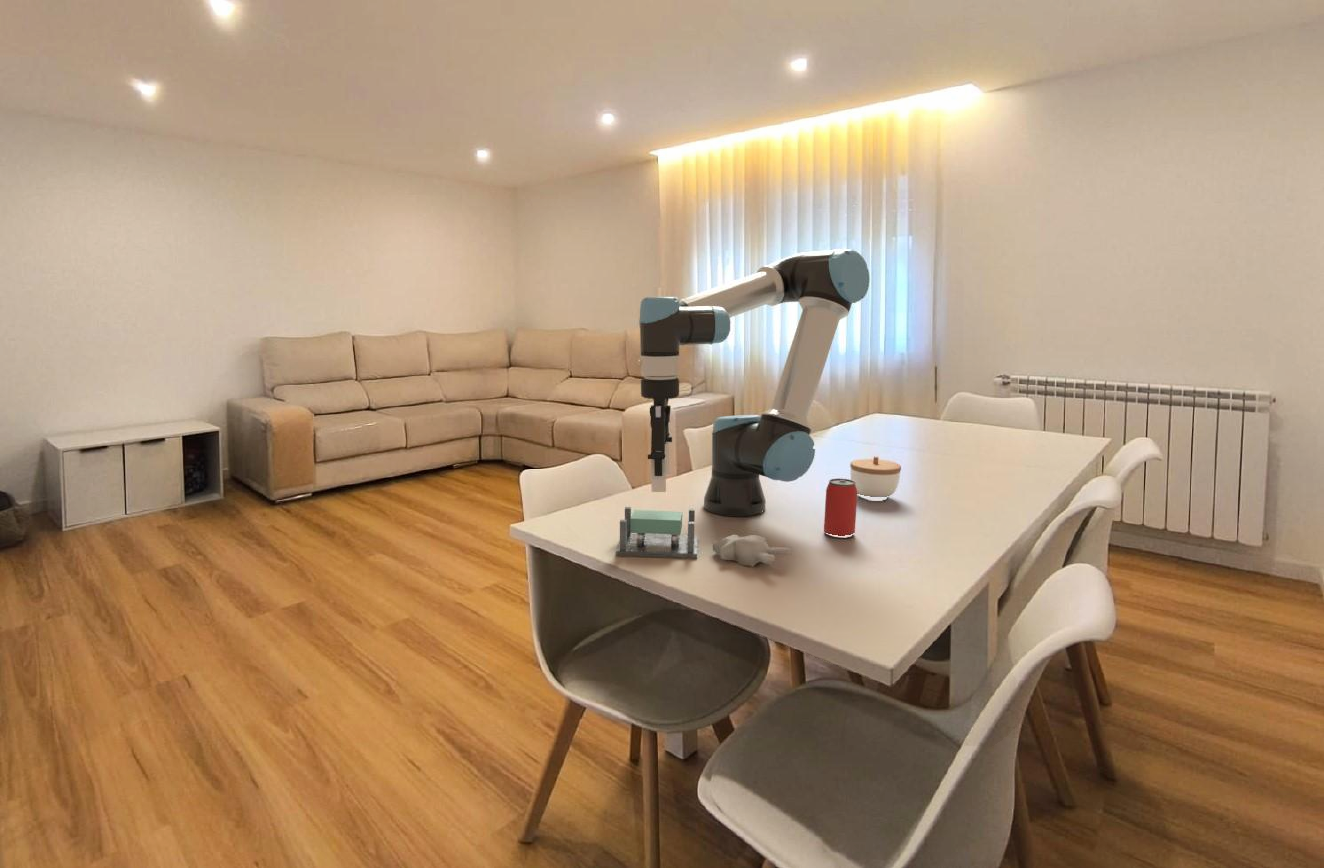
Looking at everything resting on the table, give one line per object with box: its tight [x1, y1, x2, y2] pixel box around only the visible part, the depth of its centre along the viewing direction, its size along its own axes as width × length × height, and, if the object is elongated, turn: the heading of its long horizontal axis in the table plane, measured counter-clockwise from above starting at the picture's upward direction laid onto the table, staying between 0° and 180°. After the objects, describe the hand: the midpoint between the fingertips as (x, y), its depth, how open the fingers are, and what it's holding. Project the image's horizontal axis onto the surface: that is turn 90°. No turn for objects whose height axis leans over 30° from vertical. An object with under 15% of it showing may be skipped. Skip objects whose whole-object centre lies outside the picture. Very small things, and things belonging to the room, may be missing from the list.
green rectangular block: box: [630, 509, 683, 535], centre depth 138 cm, size 10×6×3 cm, turn 85°
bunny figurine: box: [712, 534, 792, 567], centre depth 132 cm, size 10×5×15 cm
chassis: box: [615, 506, 698, 560], centre depth 138 cm, size 16×11×7 cm
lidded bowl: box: [849, 455, 902, 497], centre depth 177 cm, size 13×13×11 cm
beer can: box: [823, 477, 858, 536], centre depth 148 cm, size 7×7×12 cm
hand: (660, 482), depth 137 cm, fingers open, 13 cm apart
